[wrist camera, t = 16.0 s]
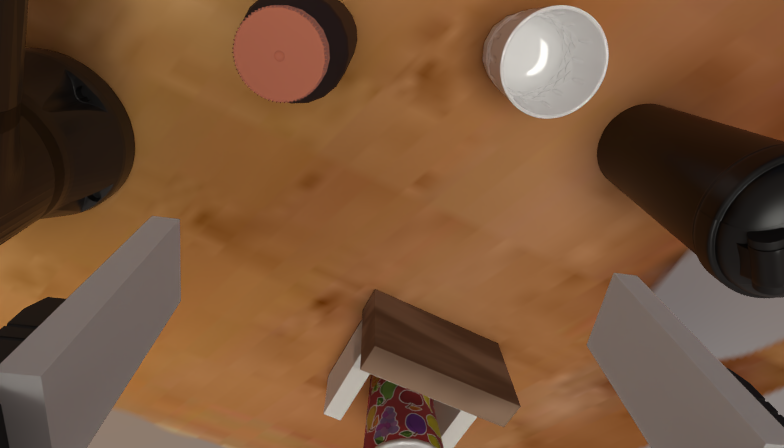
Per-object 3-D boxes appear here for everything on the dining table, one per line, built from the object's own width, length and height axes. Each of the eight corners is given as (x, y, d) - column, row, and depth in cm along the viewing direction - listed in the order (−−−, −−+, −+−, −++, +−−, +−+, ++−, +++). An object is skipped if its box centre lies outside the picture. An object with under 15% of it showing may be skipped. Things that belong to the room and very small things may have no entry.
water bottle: (698, 174, 51) (925, 295, 30) (599, 209, 52) (750, 348, 31) (685, 78, 47) (934, 138, 26) (578, 117, 48) (734, 205, 27)
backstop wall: (484, 362, 60) (503, 427, 50) (362, 310, 56) (360, 369, 47) (497, 343, 59) (520, 406, 49) (375, 289, 55) (374, 345, 46)
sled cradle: (438, 419, 63) (444, 459, 57) (328, 376, 60) (323, 414, 54) (476, 367, 60) (486, 404, 54) (362, 318, 56) (361, 352, 51)
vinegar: (271, 1, 44) (194, -1, 25) (348, -15, 43) (327, -29, 25) (291, 81, 46) (236, 131, 28) (364, 66, 46) (356, 107, 28)
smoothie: (387, 413, 62) (392, 583, 44) (349, 368, 59) (338, 530, 41) (446, 383, 61) (477, 547, 42) (410, 335, 58) (426, 489, 40)
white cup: (531, 111, 48) (567, 136, 39) (459, 72, 46) (480, 88, 37) (579, 32, 45) (631, 39, 36) (505, -13, 44) (539, -17, 35)
